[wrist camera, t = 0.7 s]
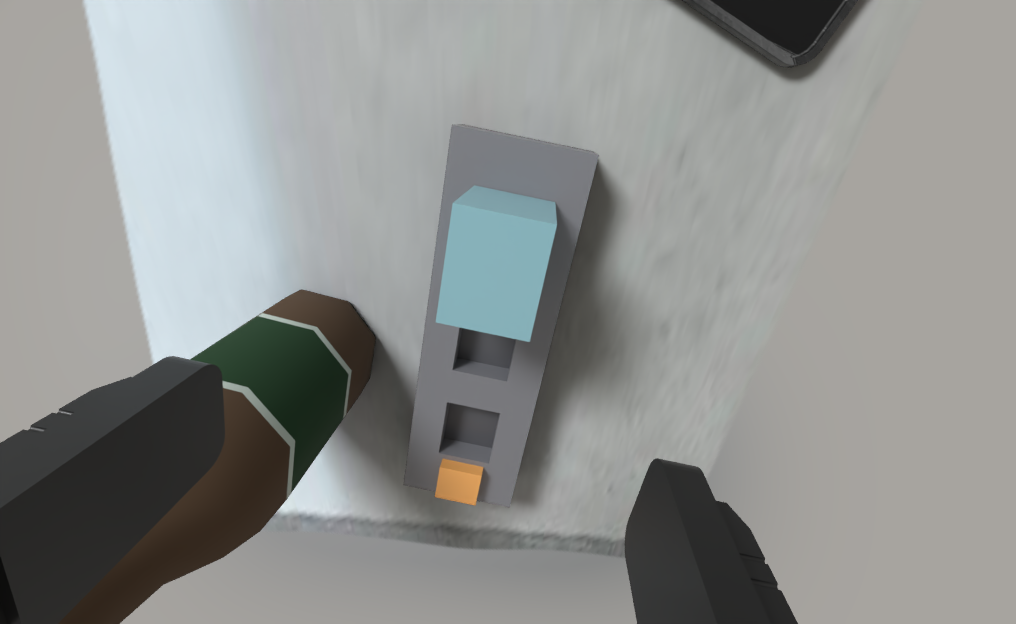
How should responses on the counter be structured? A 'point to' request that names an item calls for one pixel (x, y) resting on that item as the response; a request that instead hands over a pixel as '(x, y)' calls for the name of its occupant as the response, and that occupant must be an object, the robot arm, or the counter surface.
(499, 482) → the power strip
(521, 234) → the block
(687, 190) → the counter surface
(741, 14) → the phone
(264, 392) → the beer bottle
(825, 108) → the counter surface
